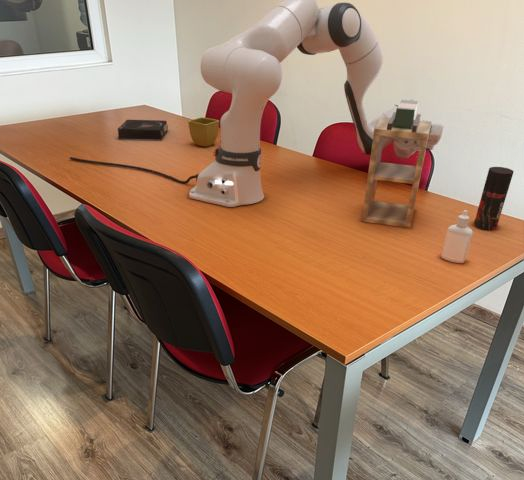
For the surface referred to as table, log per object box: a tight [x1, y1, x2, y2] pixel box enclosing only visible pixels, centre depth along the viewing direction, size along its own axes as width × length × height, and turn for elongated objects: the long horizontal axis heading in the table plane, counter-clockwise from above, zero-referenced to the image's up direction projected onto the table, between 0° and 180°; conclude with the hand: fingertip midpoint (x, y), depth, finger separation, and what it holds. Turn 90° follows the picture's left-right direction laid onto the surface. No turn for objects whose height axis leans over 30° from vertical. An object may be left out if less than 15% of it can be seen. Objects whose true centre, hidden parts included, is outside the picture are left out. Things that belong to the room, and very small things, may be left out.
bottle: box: [394, 99, 419, 129], centre depth 134 cm, size 20×4×4 cm, turn 162°
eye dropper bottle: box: [440, 209, 474, 264], centre depth 119 cm, size 4×6×12 cm
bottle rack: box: [361, 112, 432, 229], centre depth 138 cm, size 13×14×26 cm
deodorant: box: [473, 166, 514, 231], centre depth 136 cm, size 6×6×15 cm
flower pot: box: [187, 116, 220, 148], centre depth 199 cm, size 9×9×9 cm
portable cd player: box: [117, 119, 169, 142], centre depth 211 cm, size 16×17×4 cm
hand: (408, 121), depth 151 cm, fingers open, 8 cm apart
